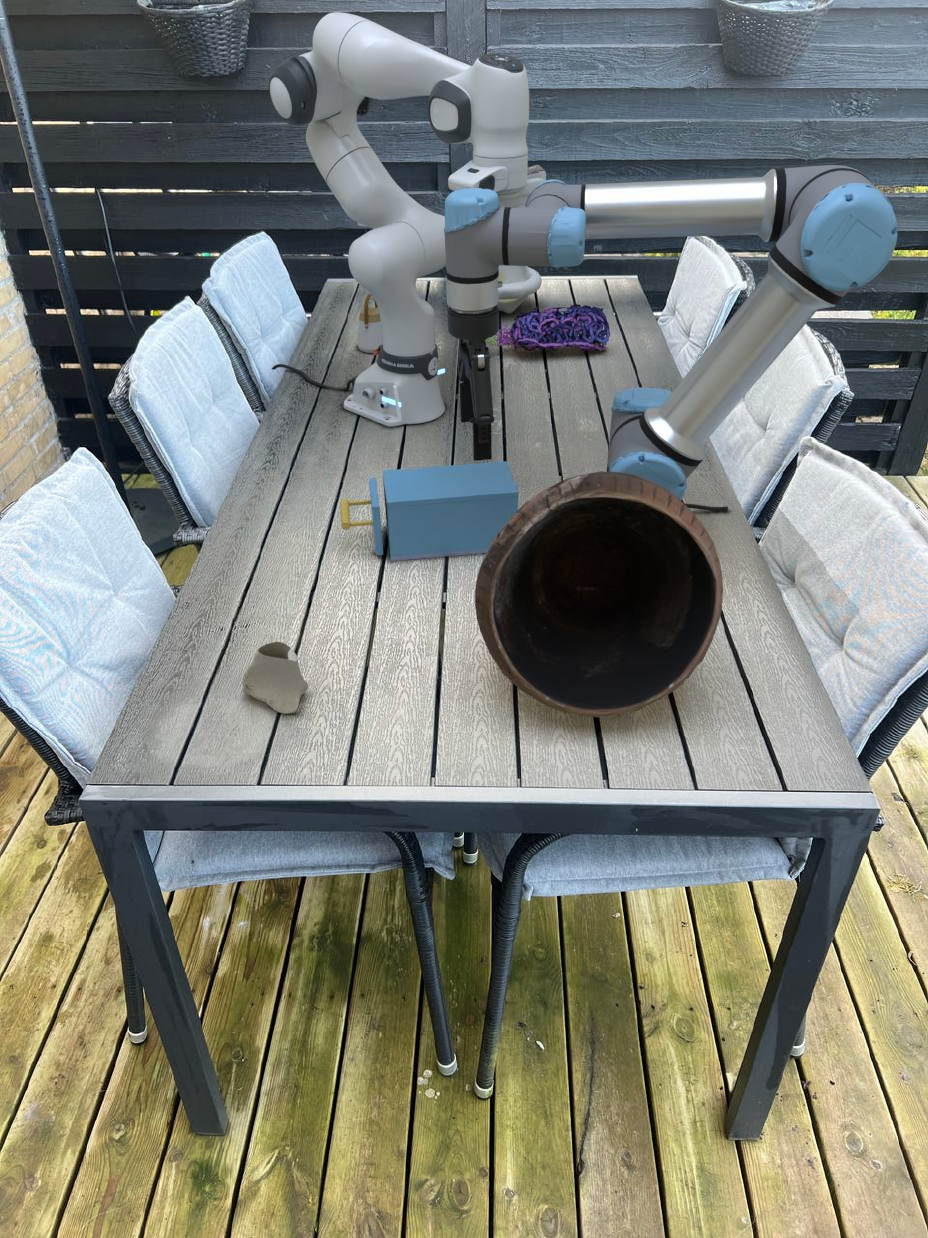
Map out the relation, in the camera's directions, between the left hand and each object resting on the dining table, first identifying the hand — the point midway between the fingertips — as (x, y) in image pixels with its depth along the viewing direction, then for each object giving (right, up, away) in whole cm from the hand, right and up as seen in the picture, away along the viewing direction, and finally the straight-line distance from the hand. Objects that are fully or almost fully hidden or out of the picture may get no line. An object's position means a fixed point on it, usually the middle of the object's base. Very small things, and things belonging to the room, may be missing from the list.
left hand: (499, 260), depth 158 cm
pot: (+12, -66, -23) cm, 71 cm away
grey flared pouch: (-32, -72, -29) cm, 84 cm away
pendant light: (-28, +7, +74) cm, 79 cm away
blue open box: (-8, -47, +3) cm, 48 cm away
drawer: (-14, -47, +2) cm, 49 cm away
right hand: (-4, -32, -10) cm, 34 cm away
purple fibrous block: (+14, +5, +70) cm, 72 cm away
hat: (+4, +23, +95) cm, 97 cm away
